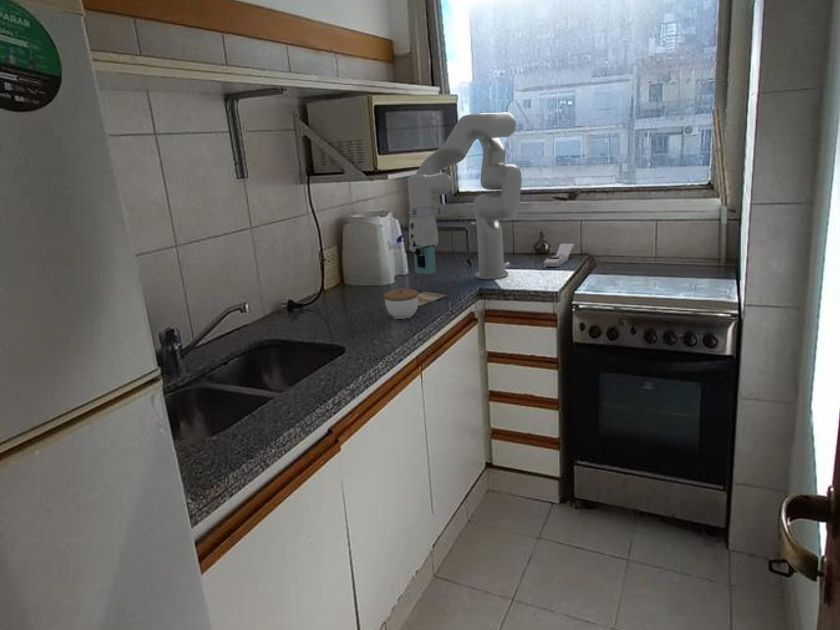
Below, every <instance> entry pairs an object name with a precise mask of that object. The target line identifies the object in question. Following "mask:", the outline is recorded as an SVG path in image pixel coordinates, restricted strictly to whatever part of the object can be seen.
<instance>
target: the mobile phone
mask: <svg viewBox="0 0 840 630" xmlns="http://www.w3.org/2000/svg"><path fill="white" fill-rule="evenodd" d="M573 248H574V243H560V244H559V246H558V249H557V252H556V254H554V255H553V256H549V257H548V258H546V259H545V260H544V261H543V267H542V268H543V269H545V268H547V267H552V268H553V267H557V268H558V267H561V265H563V264H564V263H566V262H568V260H569V256H570V253H571V252H572V249H573Z"/></svg>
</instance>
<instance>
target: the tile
mask: <svg viewBox="0 0 840 630" xmlns="http://www.w3.org/2000/svg"><path fill="white" fill-rule="evenodd" d="M435 249H436V248H434V247H432V246H427V247H423V256H425V268H421V267H418V266H417V256H416V255H415V253H414V252H413V258H414V272H415V273H416V274H424V275H433V274H436V273H437V269H436V253H435V251H436V250H435ZM419 251H420V249H419Z"/></svg>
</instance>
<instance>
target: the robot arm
mask: <svg viewBox="0 0 840 630" xmlns="http://www.w3.org/2000/svg"><path fill="white" fill-rule="evenodd" d="M516 127H517V121H516V118H515V116H514V115H513V113H512V114H511V113H510V112H507V111H506V112H505V111H504V112H480V113H473V114H472V113H470V114H466V115H463V116H461V117H460V118H459V120H458V121H457V122H456V124H455V126H454V127H453V129H452V131H451V132H450V134H449V135H448V137H447V139H446V141H445V142H444V144H443V145H442V146H441V147H439V148H438V149H436V151H434V152H433V153H431V154H430V155H429V156H428V157H427V158H425V160H424V161H423V162H422V163H421V164H420V167H419V168H418V170H417V171H416V173H415V174H414V175H410V176H409V177H408V178H407V187H408V189H407V190H408V199H409V211H408V214H409V215H410V217H409V222H408V238H409V239H408V240H409V247H408V250H409V251H411V252H412V253H413V254H414V253H415V255H416V256H417V266H418V267H421V268H425V256H423V247H427V246H432V247H434V249H436V247H437V245H438V244H439V232H438V224H437V220H436V216H435V215H434V214H433V213H434V211H433V201H432V200H433V199H432V198H433V197H432V196H441V195H442V196H443V195H446V194H447V193H449V192H450V191H451V189H452V188H453V179H452V177H451V176H450V175H449V174H448V173H446V172H442V171H443V170H446V169H447V168H449V167H453V166H454V165H456V164H458V163H460V162H461V161H463V160H464V159H465V158H466V156H467V154H468V153H469V150H470V149H471V148H472V146H473V144H474V142H475V141H476V140H478V141H479V143H480V145H481V149H482V161H481V168H480V169H481V171H480V177H479V178H480V181H479V182H480V185H481V187H482V188H483V189H484V190H488V191H501V193H482V194H479V195H478V196H476V197H475V198H474V200H473V203H472V209H473V215H474V218H475V223H476V231H477V233H476V234H477V235H476V236H477V238H476V239H477V252H478V253H477V254H478V255H477V257H478V268H479V269H478V272H476V273H475V278H477V279H479V280H499V279H503V278H507V277H508V276H509V272H508V271H507V270H506V269H507V268H509V267H511V262H509V261H508V262H504V240H503V235H504V234H503V229H502V225H501V223H500V221H507V220H508V221H509V220H510V221H511V220H512V219H514V218H516V216H517V214H518V211H519V207H520V198H521V191H522V181H523V180H522V178H523V177H522V176H523V175H522V173H521V172H522V171H521V169H520V168H519V167H518V165H516V164H514V163H506V157H507V156H506V153H507V151H506V148H505V145H504V143H503V141H502V140H501V138H508V137H511V136H512V135H513V134H514V132H515V131H516ZM419 249H420V251H419Z"/></svg>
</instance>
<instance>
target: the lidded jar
mask: <svg viewBox="0 0 840 630" xmlns="http://www.w3.org/2000/svg"><path fill="white" fill-rule="evenodd" d="M418 294H419V291H418V290H416V289H411V288H403V287H398V289H393V290H389V291H387V292H386V293H384V295H383V298H384V304H385V307H386V311H387V313H388V314H389V315H390V316H392V318H393V319H394V320H397V319H404V320H406V319H405V318H409V319H411V318H410V317H412V316H413V317H414V315H415V314H416V313H417V310H418V308H419V307H418ZM413 317H412V318H413Z"/></svg>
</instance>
